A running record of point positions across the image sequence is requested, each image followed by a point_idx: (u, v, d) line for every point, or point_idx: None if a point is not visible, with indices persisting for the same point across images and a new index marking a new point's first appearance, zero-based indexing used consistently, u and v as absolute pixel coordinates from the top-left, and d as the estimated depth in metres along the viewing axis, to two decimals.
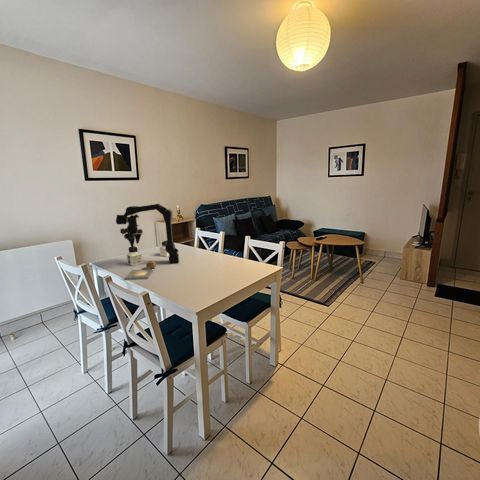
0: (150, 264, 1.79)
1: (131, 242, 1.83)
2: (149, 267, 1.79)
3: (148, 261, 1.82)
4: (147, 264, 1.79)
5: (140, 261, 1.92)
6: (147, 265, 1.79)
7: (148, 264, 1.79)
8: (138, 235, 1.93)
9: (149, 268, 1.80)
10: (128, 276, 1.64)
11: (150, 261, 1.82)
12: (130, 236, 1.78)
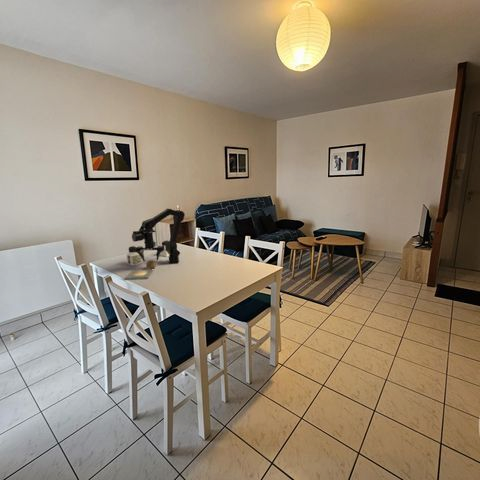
0: (150, 264, 1.79)
1: None
2: (149, 267, 1.79)
3: (148, 261, 1.82)
4: (147, 264, 1.79)
5: (140, 261, 1.92)
6: (147, 265, 1.79)
7: (148, 264, 1.79)
8: None
9: (149, 268, 1.80)
10: (128, 276, 1.64)
11: (150, 261, 1.82)
12: None
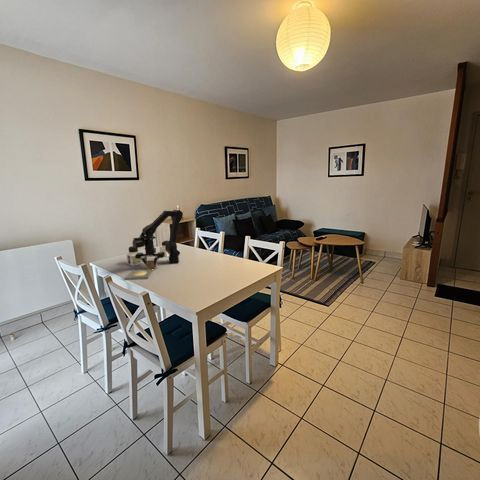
0: (150, 264, 1.79)
1: None
2: (149, 267, 1.79)
3: (148, 261, 1.82)
4: (147, 264, 1.79)
5: (140, 261, 1.92)
6: (147, 265, 1.79)
7: (148, 264, 1.79)
8: None
9: (149, 268, 1.80)
10: (128, 276, 1.64)
11: (150, 261, 1.82)
12: None
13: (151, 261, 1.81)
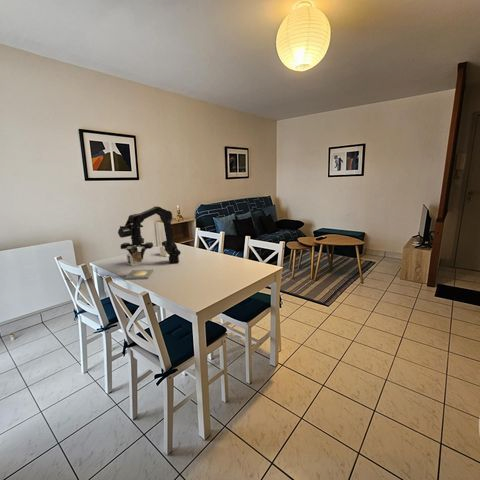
0: (137, 255, 1.64)
1: None
2: (136, 258, 1.64)
3: (135, 252, 1.67)
4: (133, 255, 1.64)
5: (140, 261, 1.92)
6: (133, 256, 1.64)
7: (134, 255, 1.64)
8: None
9: (136, 259, 1.65)
10: (128, 276, 1.64)
11: (137, 252, 1.67)
12: None
13: (138, 252, 1.66)
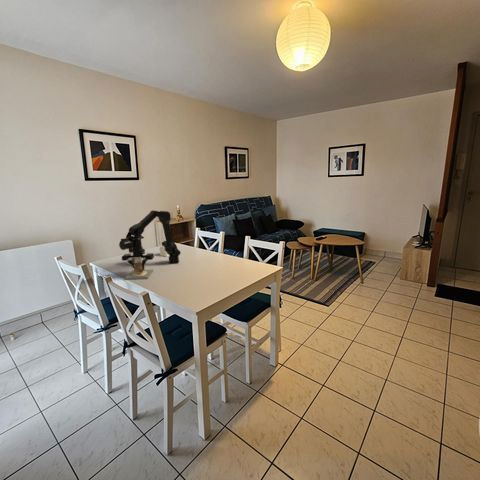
0: (138, 266, 1.65)
1: None
2: (137, 270, 1.66)
3: (136, 263, 1.68)
4: (135, 266, 1.65)
5: (140, 261, 1.92)
6: (135, 267, 1.65)
7: (136, 266, 1.65)
8: None
9: (137, 270, 1.66)
10: (128, 276, 1.64)
11: (138, 263, 1.68)
12: None
13: (139, 263, 1.68)
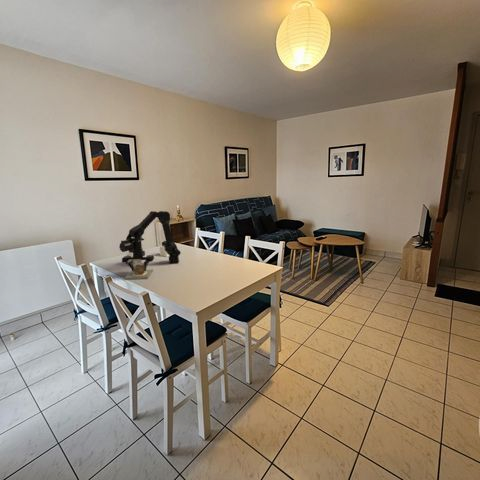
0: (138, 269, 1.66)
1: None
2: (138, 272, 1.66)
3: (136, 265, 1.69)
4: (135, 269, 1.66)
5: (140, 261, 1.92)
6: (135, 270, 1.66)
7: (136, 269, 1.66)
8: None
9: (137, 273, 1.66)
10: (128, 276, 1.64)
11: (138, 265, 1.69)
12: None
13: (139, 265, 1.68)
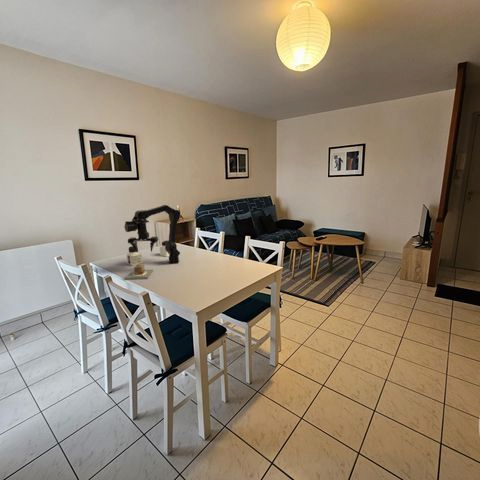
0: (138, 269, 1.66)
1: None
2: (138, 272, 1.66)
3: (136, 265, 1.69)
4: (135, 269, 1.66)
5: (140, 261, 1.92)
6: (135, 270, 1.66)
7: (136, 269, 1.66)
8: None
9: (137, 273, 1.66)
10: (128, 276, 1.64)
11: (138, 265, 1.69)
12: None
13: (139, 265, 1.68)
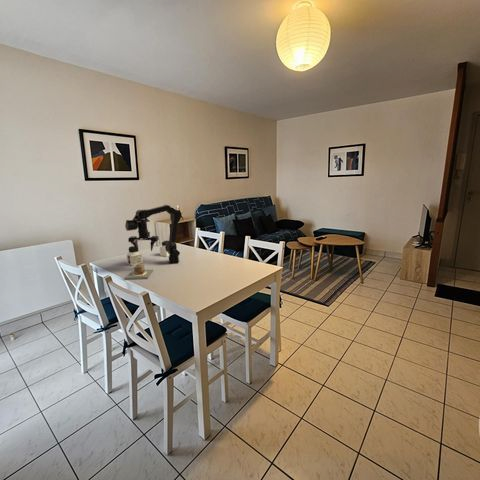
0: (138, 269, 1.66)
1: None
2: (138, 272, 1.66)
3: (136, 265, 1.69)
4: (135, 269, 1.66)
5: (140, 261, 1.92)
6: (135, 270, 1.66)
7: (136, 269, 1.66)
8: None
9: (137, 273, 1.66)
10: (128, 276, 1.64)
11: (138, 265, 1.69)
12: None
13: (139, 265, 1.68)
